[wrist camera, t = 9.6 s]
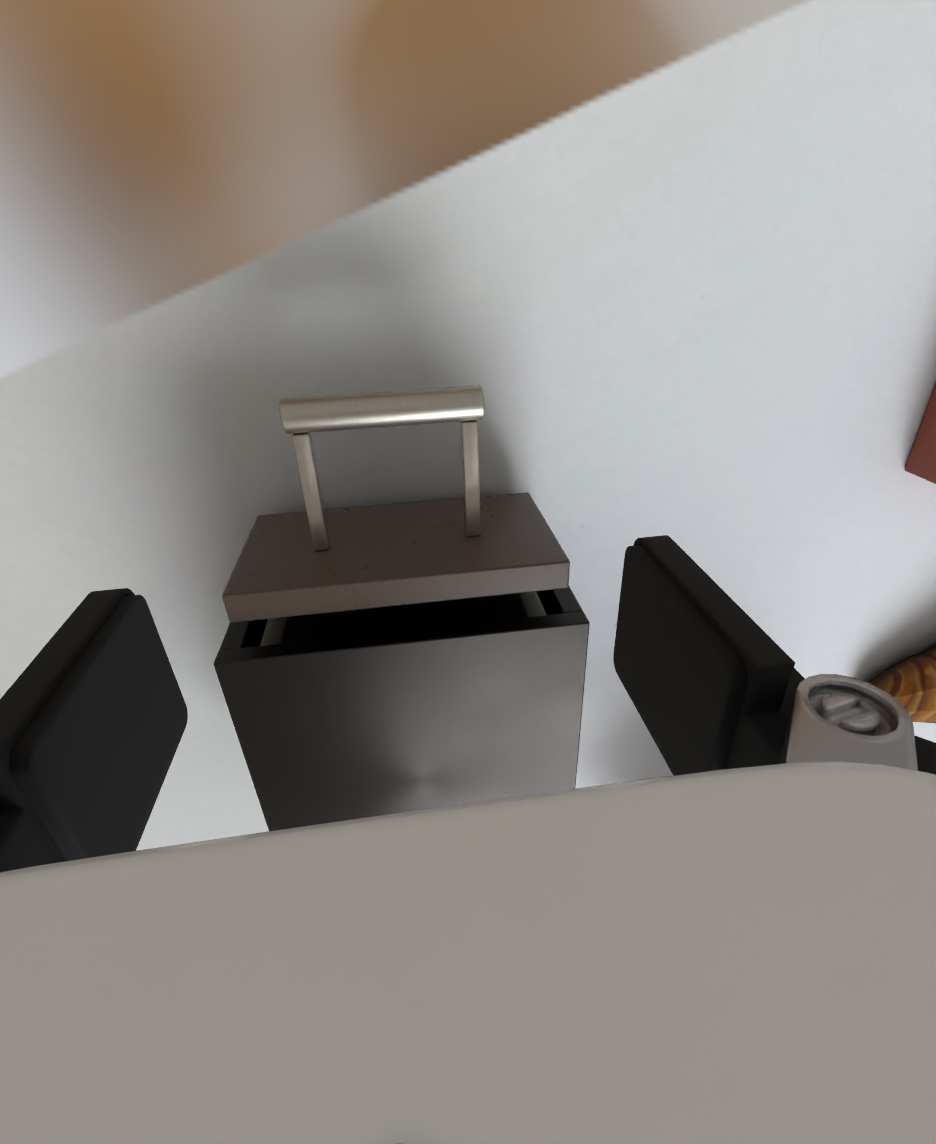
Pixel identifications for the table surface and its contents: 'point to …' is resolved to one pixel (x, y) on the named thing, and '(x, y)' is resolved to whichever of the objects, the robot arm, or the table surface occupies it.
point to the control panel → (925, 446)
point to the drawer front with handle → (392, 539)
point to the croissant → (913, 685)
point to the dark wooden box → (408, 714)
